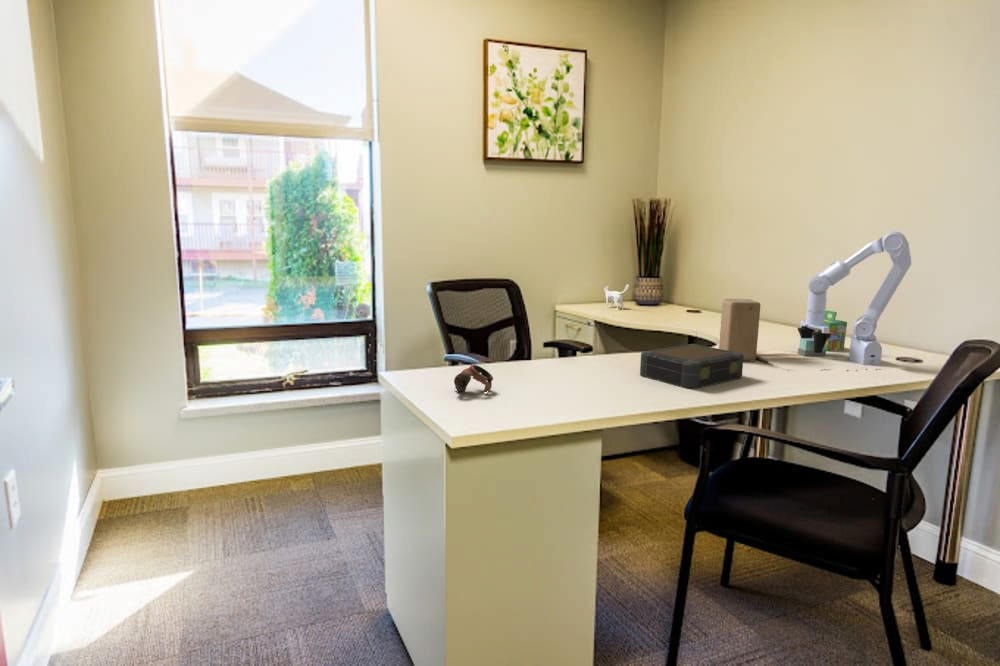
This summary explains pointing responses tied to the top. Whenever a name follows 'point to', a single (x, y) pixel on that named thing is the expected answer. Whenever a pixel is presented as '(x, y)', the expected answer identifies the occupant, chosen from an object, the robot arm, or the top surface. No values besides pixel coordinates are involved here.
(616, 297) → the cat figurine
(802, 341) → the sanding block
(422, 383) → the top surface
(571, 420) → the top surface
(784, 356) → the board
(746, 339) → the wooden block
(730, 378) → the cash box
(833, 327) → the chalk box
